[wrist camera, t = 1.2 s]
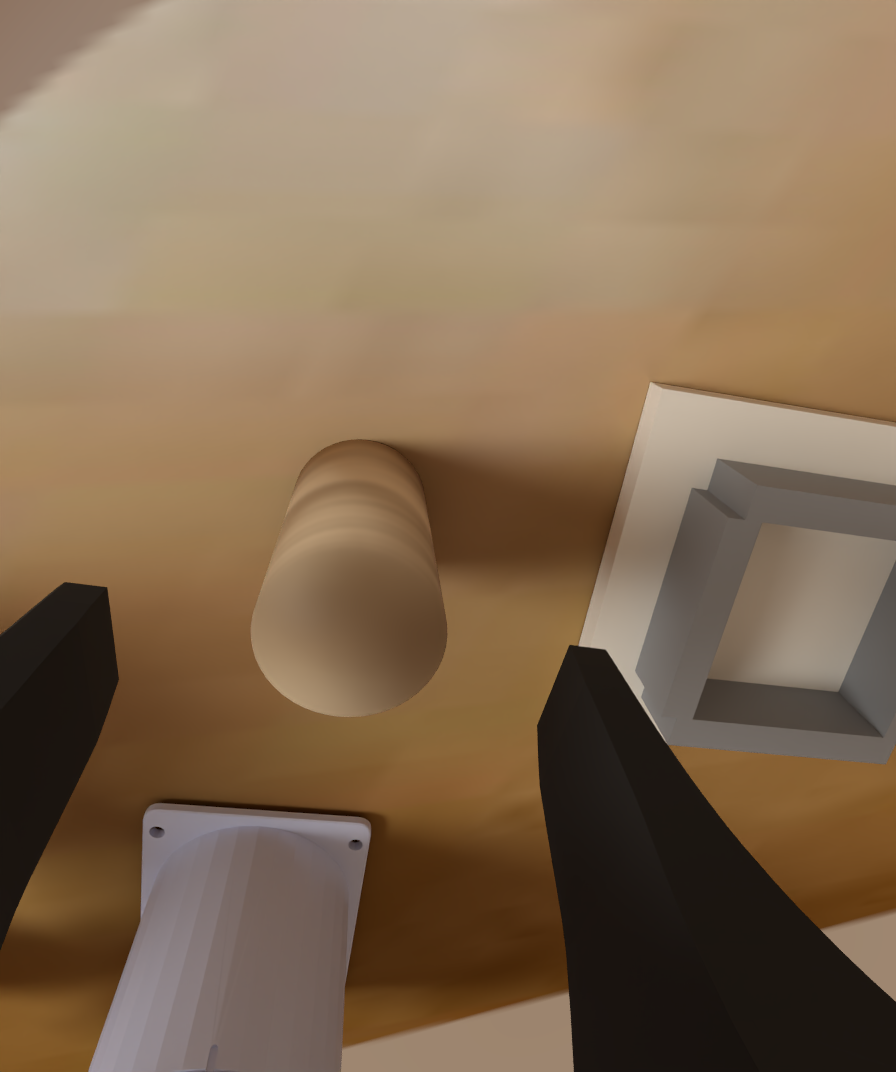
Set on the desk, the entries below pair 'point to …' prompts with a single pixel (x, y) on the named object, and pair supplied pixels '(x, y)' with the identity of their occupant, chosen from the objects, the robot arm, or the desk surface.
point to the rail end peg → (352, 586)
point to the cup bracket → (755, 577)
